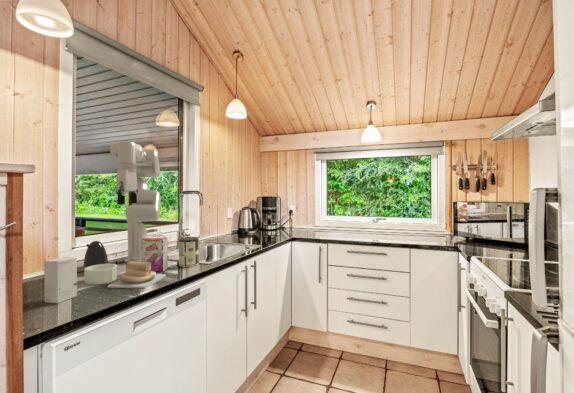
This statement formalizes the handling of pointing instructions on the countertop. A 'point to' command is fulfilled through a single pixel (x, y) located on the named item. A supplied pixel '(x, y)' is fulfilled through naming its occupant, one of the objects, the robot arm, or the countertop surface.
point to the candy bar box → (155, 253)
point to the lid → (138, 272)
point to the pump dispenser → (95, 254)
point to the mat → (136, 285)
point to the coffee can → (188, 251)
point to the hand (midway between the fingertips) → (127, 203)
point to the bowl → (100, 274)
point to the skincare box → (60, 279)
